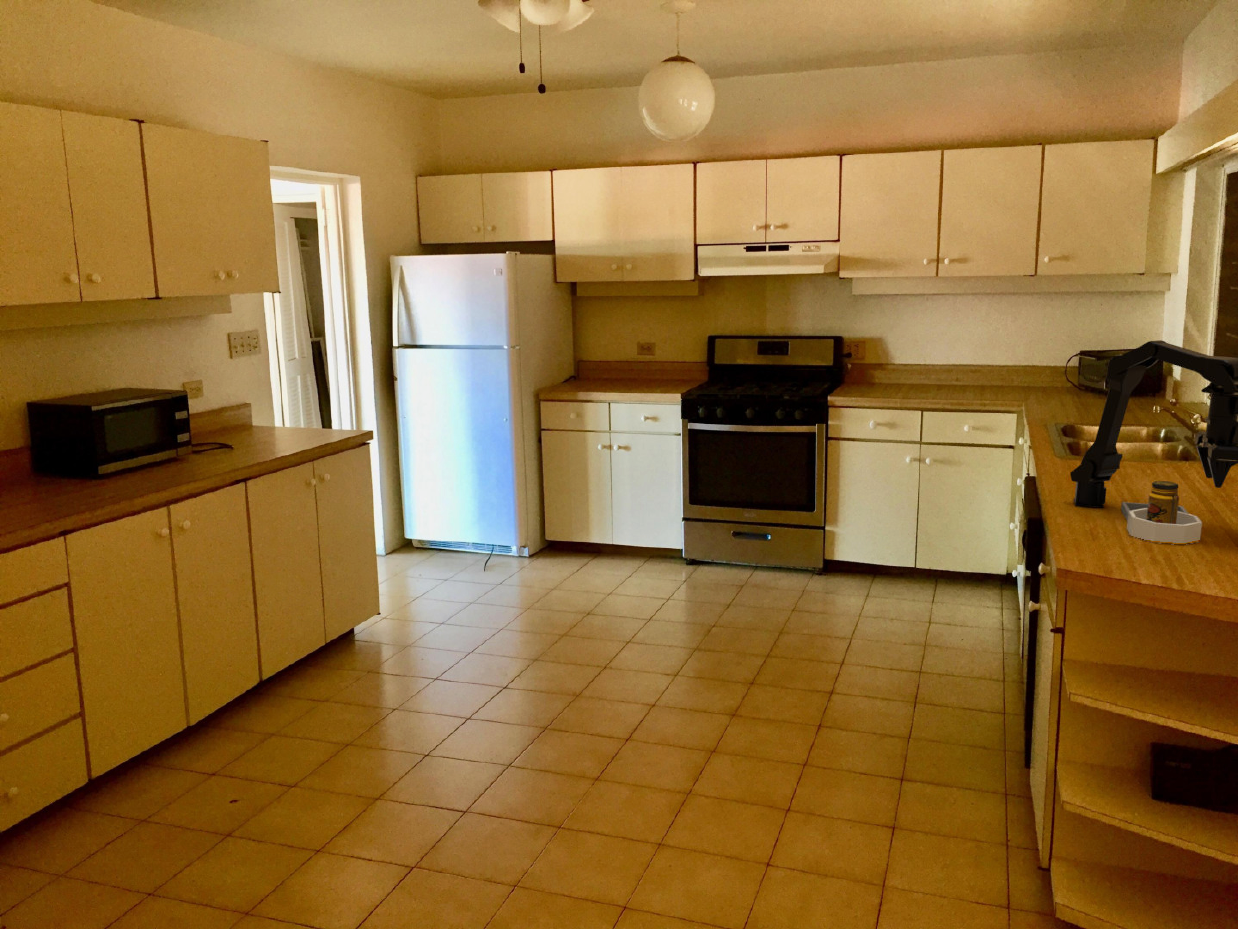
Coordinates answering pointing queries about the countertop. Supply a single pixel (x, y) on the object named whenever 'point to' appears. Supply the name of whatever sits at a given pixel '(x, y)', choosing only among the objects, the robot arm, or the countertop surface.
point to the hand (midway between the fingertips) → (1213, 482)
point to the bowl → (1164, 527)
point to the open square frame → (1134, 506)
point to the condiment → (1163, 502)
